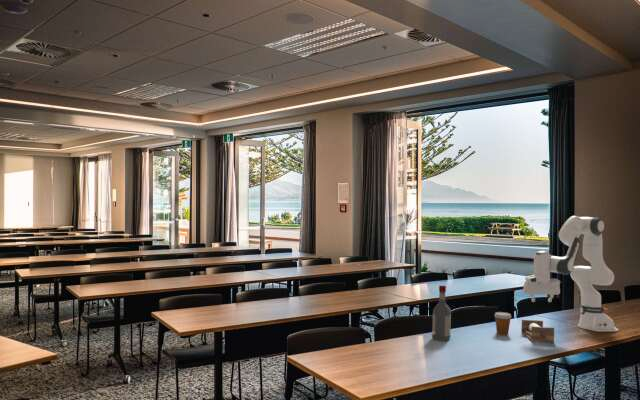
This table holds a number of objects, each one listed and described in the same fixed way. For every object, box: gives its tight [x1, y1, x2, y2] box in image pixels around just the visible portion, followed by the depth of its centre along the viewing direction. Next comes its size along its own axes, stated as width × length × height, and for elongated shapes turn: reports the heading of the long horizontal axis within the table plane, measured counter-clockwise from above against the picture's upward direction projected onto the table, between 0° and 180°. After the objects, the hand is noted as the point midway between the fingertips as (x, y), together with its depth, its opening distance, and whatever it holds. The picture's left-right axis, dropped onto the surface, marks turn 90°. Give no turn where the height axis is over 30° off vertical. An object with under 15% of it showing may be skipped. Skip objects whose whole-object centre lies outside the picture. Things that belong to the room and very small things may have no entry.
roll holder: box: [521, 319, 555, 344], centre depth 286 cm, size 20×12×8 cm, turn 176°
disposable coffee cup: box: [494, 311, 512, 336], centre depth 294 cm, size 10×10×12 cm
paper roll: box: [528, 323, 540, 332], centre depth 286 cm, size 13×6×6 cm, turn 175°
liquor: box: [431, 285, 452, 342], centre depth 279 cm, size 9×9×30 cm
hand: (541, 301), depth 292 cm, fingers open, 8 cm apart
